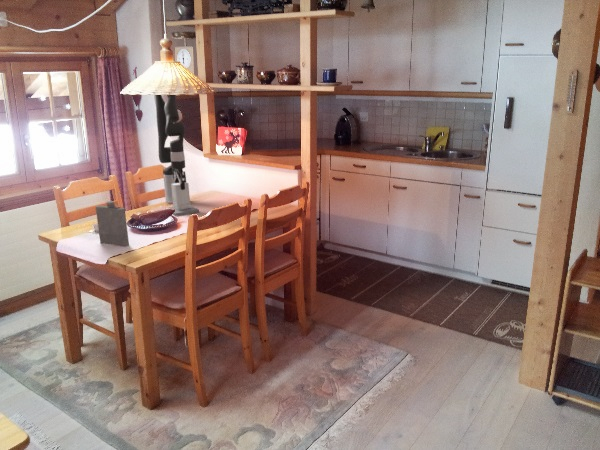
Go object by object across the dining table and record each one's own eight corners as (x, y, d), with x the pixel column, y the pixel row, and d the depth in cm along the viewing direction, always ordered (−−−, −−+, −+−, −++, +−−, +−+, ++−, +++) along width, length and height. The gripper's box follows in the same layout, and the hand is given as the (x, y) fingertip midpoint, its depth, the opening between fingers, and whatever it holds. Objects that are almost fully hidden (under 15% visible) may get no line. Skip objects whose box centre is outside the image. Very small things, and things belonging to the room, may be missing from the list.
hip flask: (98, 243, 247) (93, 201, 241) (105, 240, 250) (99, 199, 245) (125, 246, 241) (120, 204, 235) (131, 244, 244) (126, 202, 239)
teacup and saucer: (110, 230, 267) (109, 223, 266) (96, 234, 261) (95, 227, 260) (99, 228, 272) (98, 220, 271) (85, 232, 266) (84, 224, 265)
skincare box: (186, 206, 304) (184, 181, 300) (191, 208, 300) (189, 182, 296) (172, 209, 300) (170, 183, 295) (177, 211, 295) (175, 184, 291)
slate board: (165, 210, 303) (165, 207, 303) (188, 206, 310) (188, 204, 310) (175, 216, 290) (175, 213, 290) (199, 212, 297) (199, 209, 297)
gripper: (166, 158, 296) (169, 186, 300) (175, 162, 284) (178, 191, 289) (179, 157, 300) (182, 185, 304) (189, 160, 288) (191, 189, 293)
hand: (180, 188), depth 297 cm, fingers open, 8 cm apart
